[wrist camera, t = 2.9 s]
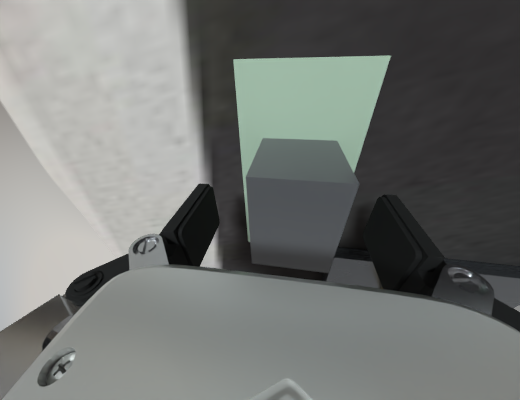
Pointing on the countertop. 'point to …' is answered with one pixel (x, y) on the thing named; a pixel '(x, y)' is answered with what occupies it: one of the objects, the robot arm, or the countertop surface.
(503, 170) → the countertop surface
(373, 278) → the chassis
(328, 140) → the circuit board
